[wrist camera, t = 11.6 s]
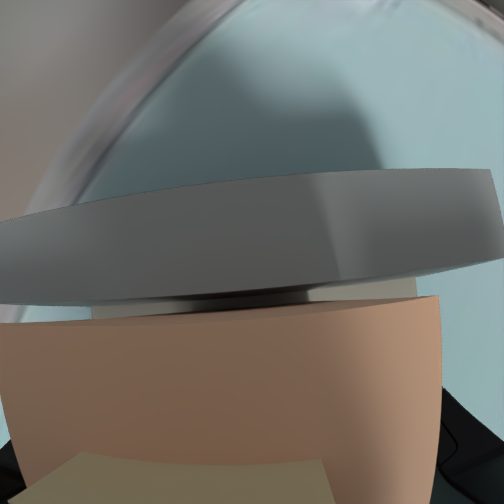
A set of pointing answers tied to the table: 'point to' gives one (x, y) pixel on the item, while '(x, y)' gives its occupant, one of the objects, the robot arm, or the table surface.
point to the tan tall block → (228, 405)
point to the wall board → (253, 242)
